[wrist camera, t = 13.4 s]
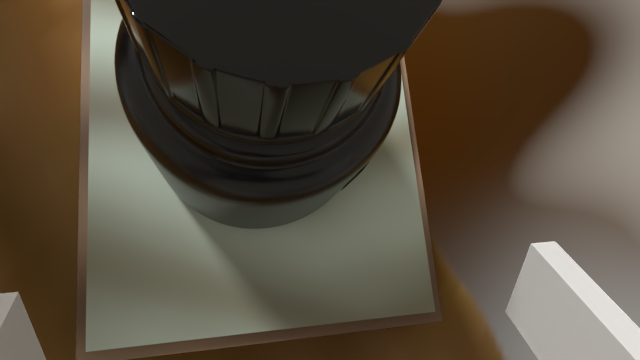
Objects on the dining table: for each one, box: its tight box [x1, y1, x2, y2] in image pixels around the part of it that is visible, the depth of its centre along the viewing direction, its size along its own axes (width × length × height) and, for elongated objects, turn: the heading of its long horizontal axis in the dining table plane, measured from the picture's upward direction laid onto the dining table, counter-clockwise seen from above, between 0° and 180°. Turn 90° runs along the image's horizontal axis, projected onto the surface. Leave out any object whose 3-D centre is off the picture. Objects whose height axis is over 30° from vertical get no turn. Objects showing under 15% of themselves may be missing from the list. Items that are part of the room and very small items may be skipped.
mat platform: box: [75, 0, 443, 360], centre depth 22 cm, size 18×15×4 cm
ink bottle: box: [114, 0, 442, 229], centre depth 14 cm, size 10×9×12 cm
